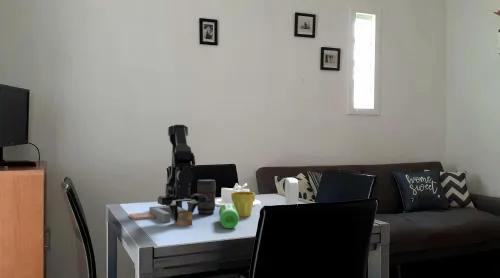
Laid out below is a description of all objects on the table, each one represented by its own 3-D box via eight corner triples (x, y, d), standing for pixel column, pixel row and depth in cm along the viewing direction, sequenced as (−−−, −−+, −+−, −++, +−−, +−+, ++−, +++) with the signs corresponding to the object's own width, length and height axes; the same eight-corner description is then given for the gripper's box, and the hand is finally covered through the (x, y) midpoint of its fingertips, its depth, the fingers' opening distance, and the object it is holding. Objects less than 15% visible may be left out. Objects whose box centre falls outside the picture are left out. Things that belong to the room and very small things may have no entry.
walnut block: (185, 222, 182) (186, 209, 182) (192, 224, 177) (192, 212, 177) (174, 223, 180) (174, 210, 180) (180, 226, 175) (180, 213, 174)
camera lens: (218, 213, 203) (219, 179, 202) (209, 216, 195) (209, 181, 195) (202, 211, 206) (203, 178, 206) (193, 214, 199) (193, 180, 199)
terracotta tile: (147, 214, 197) (147, 212, 197) (154, 218, 189) (154, 215, 189) (128, 216, 192) (129, 213, 192) (135, 220, 185) (135, 217, 185)
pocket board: (173, 213, 201) (174, 205, 201) (190, 220, 186) (190, 211, 186) (149, 215, 196) (149, 207, 196) (164, 222, 180) (164, 213, 180)
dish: (269, 203, 235) (269, 181, 234) (243, 210, 213) (243, 186, 213) (230, 199, 248) (230, 178, 247) (201, 205, 226) (201, 182, 226)
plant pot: (227, 216, 196) (227, 193, 196) (236, 212, 206) (236, 190, 205) (250, 218, 192) (250, 195, 192) (258, 214, 202) (258, 192, 202)
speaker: (218, 220, 187) (218, 202, 187) (236, 220, 188) (236, 202, 188) (219, 229, 170) (220, 209, 170) (239, 229, 171) (239, 209, 171)
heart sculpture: (300, 227, 176) (300, 180, 176) (287, 227, 176) (287, 180, 176) (294, 219, 192) (295, 176, 192) (282, 219, 192) (283, 176, 191)
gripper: (195, 178, 191) (195, 215, 191) (152, 180, 181) (152, 219, 181) (207, 181, 181) (207, 220, 181) (163, 183, 171) (162, 224, 172)
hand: (182, 221), depth 179 cm, fingers closed on walnut block, 5 cm apart
